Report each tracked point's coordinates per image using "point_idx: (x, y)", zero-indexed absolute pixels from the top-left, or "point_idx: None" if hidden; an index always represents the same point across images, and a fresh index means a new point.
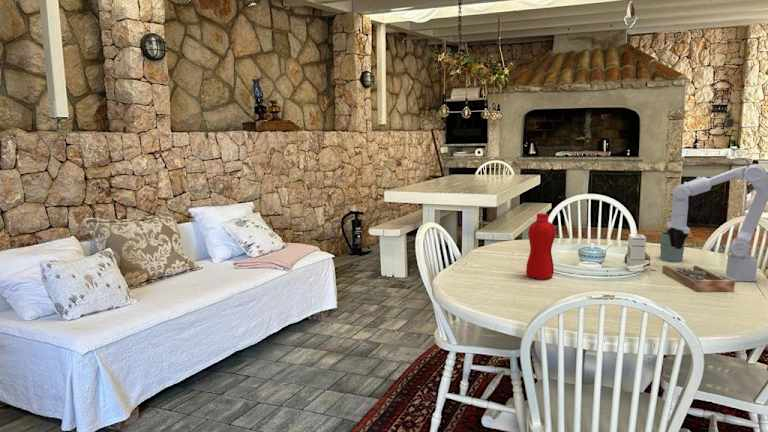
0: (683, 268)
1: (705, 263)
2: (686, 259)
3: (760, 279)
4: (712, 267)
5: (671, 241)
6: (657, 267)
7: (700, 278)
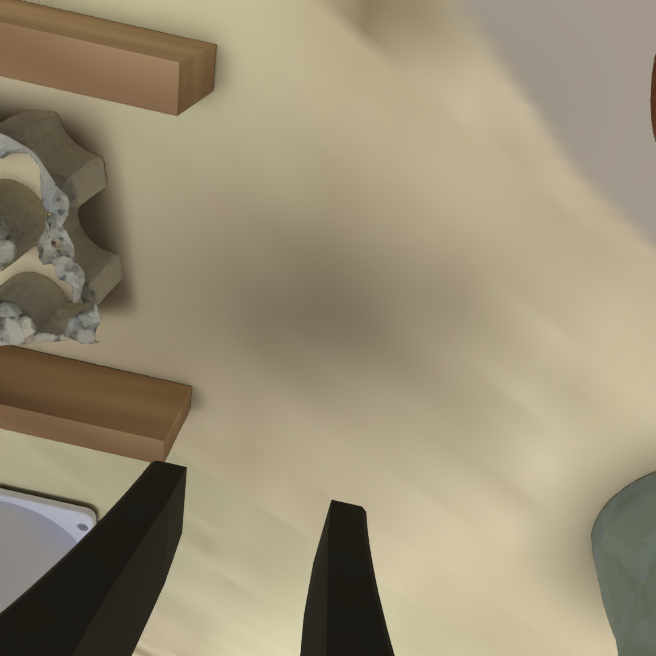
0: (67, 272)
1: (470, 650)
2: None
3: None
4: None
5: (327, 598)
6: (495, 181)
7: None
